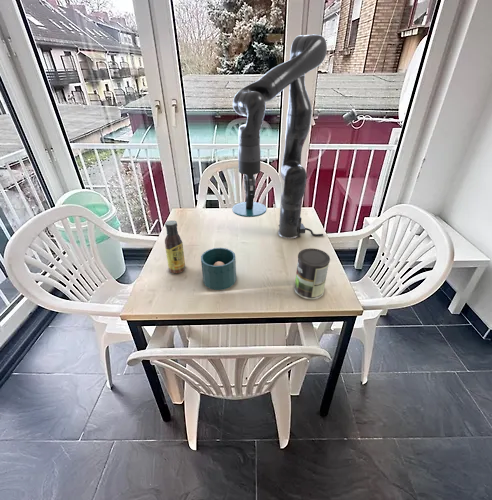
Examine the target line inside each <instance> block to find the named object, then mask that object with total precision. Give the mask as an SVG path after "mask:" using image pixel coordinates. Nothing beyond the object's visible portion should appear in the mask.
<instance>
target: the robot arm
mask: <svg viewBox="0 0 492 500" xmlns="http://www.w3.org/2000/svg"><path fill="white" fill-rule="evenodd" d="M327 52H328V45H327V40H326V38H325V37H324V36H323V35H320V34H300V35H297V36H295V38H294V39H293V41H292V43H291V46H290V52H289V60H287V61H285V62H282V63H279V64H278V65H276V66H274V67H272V68H271V69H270V70H268V71H267V72H266V73H265V74H263V75H262V76H261V77H260V78H259V79H257V80H256V81H254V82H252V83H250V84H247V85H246V86H244V87H242V88H241V89H239V90H238V91H237V93H235V95H234V97H233V99H232V108H233V110H234V112H235V113H236V114H238V115H239V116H243V117H246V122H245V124H241V125H240V126H239V127H238V149H237V150H238V151H237V158H238V159H237V161H238V162H237V163H238V164H237V165H238V172H239V174H241V175H243V176H242V177H243V188H244V193H245V198H246V197H247V207H248V208H252V207H253V202H254V199H255V198H256V196H255V195H256V188H257V187H256V181H257V180H256V178H255V177H256V176H255V175H257V174H260V172H261V129H262V126H263V121H264V119H265V113H266V109H267V106H266V105H267V104H266V102H267V103H268V102H270V101H271V100H273V99H275V98H276V97H277V96H278V95H279V94H280V93H281V92H282V91H284V90H285V89H286V88H287V87H288V86H289V91H288V103H287V111H286V112H287V113H286V121H285V122H286V123H285V135H284V136H285V137H284V139H285V140H284V150H283V151H284V152H283V158H282V163H281V167H280V176H281V179H282V180H283V191H282V192H281V195H280V206H279V207H280V209H279V220H278V221H279V224H278V236H280V237H281V238H284V239H296V238H300V237H301V236H300V235H301V234H306V231H308V232H310V234H311V235H312V236H313V237H323V236H324V233H314V231H313V230H312V229H310V228H308V227H305V225H304V223H303V222H302V217H301V213H302V205H303V198H304V195H305V191H306V185H307V171H306V169H305V168H304V167H303V166H302V152H303V148H304V145H305V142H306V139H307V137H308V135H309V132H310V129H311V123H312V115H313V107H312V103H311V100H310V97H309V94H308V91H307V87H306V74H307V73H309V72H310V71H313V70H314V69H316V68H318V67H319V66H321V64H323V62H324V61H325V59H326V57H327ZM246 195H247V196H246Z"/></svg>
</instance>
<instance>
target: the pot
mask: <svg viewBox="0 0 492 500" xmlns="http://www.w3.org/2000/svg"><path fill="white" fill-rule="evenodd" d="M236 259H237V258H236V253H235V252H234V251H233V250H231V249H229V248H226V247H213V248H210V249H208V250H206V251H204V252H203V253H202V254H201V255H200V263H201V265H200V266H201V273H202V283H203V284H204V286H205V287H206V288H208V289H210V290H214V291H224V290H227V289H231V287H232V286H234V285H235V284H236V281H237V264H236V263H237V260H236ZM218 261H220V262H223V263H224V264H225V265H220V266H213V265H214V264H215V263H216V262H218Z"/></svg>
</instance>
